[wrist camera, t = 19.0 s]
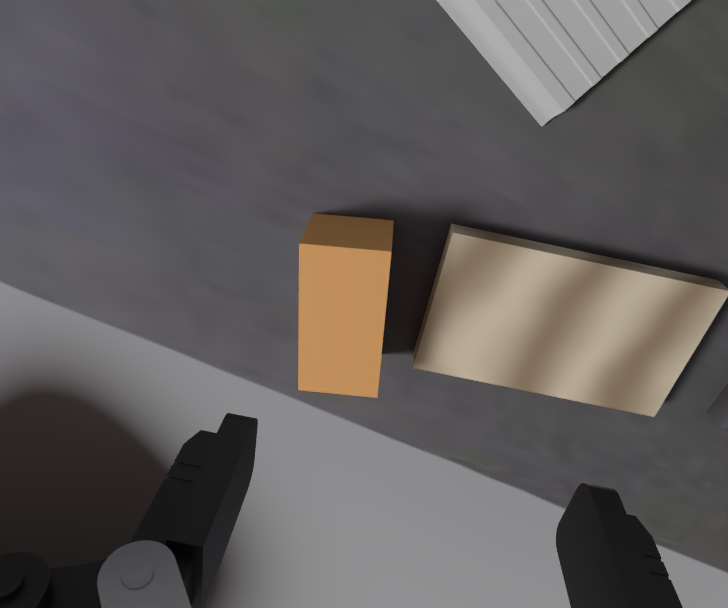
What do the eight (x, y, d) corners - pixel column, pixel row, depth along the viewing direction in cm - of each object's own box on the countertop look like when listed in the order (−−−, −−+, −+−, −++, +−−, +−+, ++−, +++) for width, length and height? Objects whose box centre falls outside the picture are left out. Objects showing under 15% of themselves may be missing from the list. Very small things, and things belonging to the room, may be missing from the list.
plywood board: (718, 280, 33) (730, 291, 32) (645, 402, 38) (654, 416, 37) (451, 223, 33) (452, 232, 31) (412, 355, 38) (412, 367, 36)
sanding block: (393, 219, 33) (391, 251, 29) (380, 352, 38) (377, 397, 34) (313, 212, 33) (299, 243, 29) (310, 346, 38) (298, 390, 34)
